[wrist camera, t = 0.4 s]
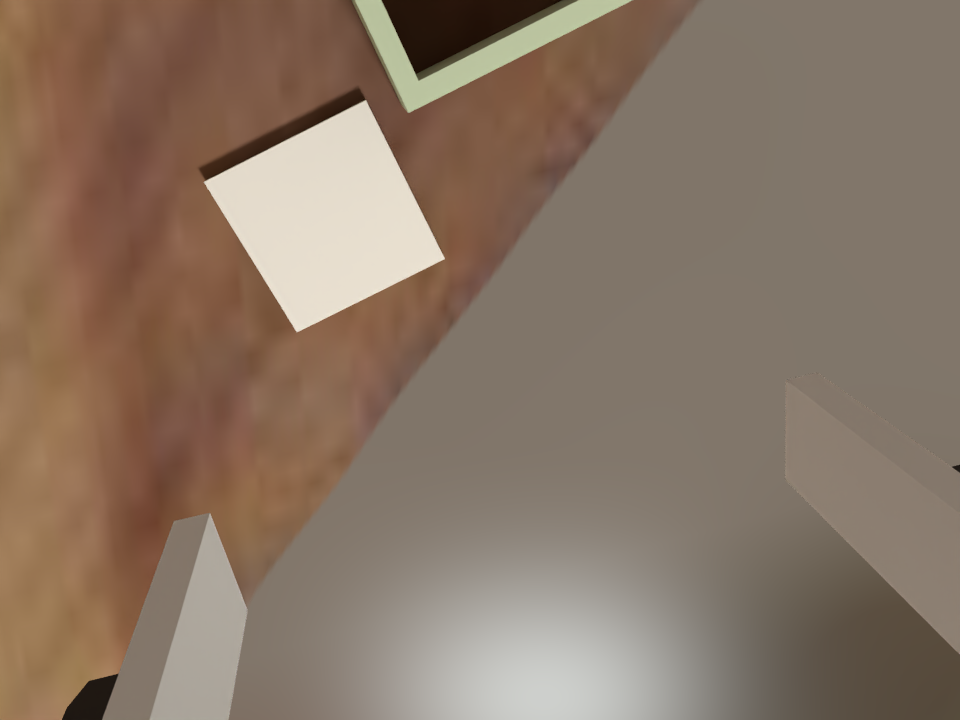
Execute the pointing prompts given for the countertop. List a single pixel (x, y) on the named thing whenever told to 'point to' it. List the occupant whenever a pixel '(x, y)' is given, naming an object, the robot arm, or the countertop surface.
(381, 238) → the cream square block
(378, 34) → the green u-shaped frame
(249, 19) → the countertop surface
